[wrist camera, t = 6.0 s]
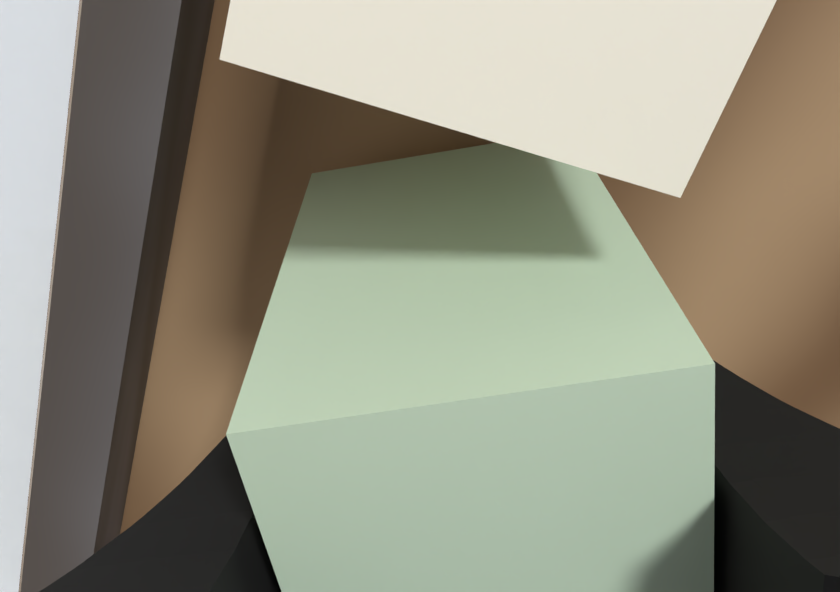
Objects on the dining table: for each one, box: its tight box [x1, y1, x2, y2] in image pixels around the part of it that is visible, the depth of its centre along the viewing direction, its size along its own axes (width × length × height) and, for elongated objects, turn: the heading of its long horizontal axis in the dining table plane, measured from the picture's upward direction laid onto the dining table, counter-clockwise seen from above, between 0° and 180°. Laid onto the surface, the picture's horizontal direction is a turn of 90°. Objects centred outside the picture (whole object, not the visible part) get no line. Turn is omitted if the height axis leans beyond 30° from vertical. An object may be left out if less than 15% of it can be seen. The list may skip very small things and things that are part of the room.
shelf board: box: [19, 0, 840, 592], centre depth 15 cm, size 16×24×4 cm
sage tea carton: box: [226, 143, 715, 592], centre depth 11 cm, size 4×6×6 cm, turn 10°
